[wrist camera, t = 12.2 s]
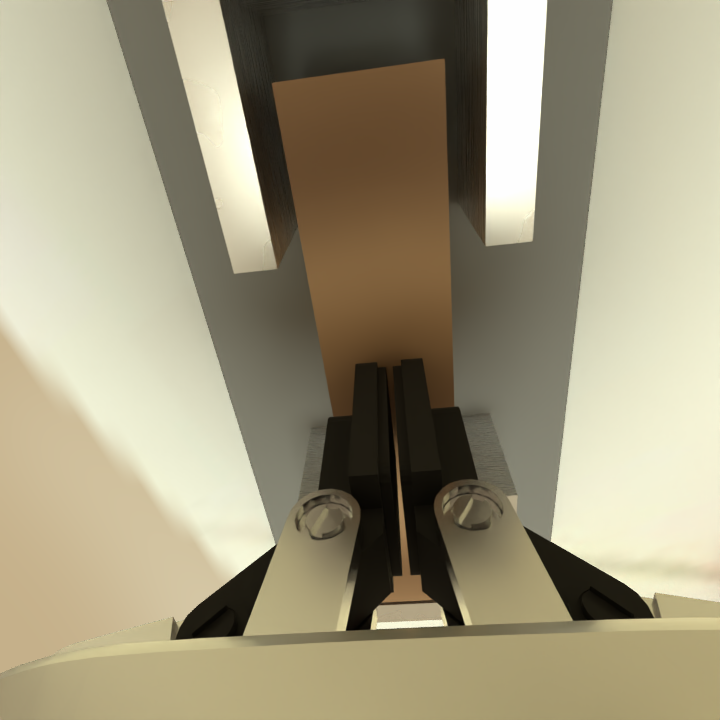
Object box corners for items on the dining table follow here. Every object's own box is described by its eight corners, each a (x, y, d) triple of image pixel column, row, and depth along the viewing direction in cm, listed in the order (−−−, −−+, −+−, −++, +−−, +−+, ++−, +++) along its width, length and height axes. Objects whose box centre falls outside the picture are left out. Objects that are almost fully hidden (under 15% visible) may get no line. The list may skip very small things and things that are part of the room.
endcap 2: (487, 525, 21) (510, 616, 17) (334, 535, 21) (326, 625, 18) (489, 412, 18) (517, 495, 14) (311, 427, 18) (296, 509, 15)
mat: (91, -73, 11) (82, -77, 11) (624, -166, 10) (632, -174, 10) (281, 549, 22) (279, 556, 22) (548, 533, 21) (550, 540, 21)
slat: (299, 79, 12) (271, 82, 9) (424, 62, 12) (444, 58, 9) (368, 514, 21) (367, 603, 17) (445, 509, 20) (459, 598, 17)
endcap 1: (211, -30, 11) (142, -73, 8) (498, -76, 11) (555, -143, 7) (267, 225, 14) (234, 273, 11) (493, 199, 14) (532, 241, 10)
